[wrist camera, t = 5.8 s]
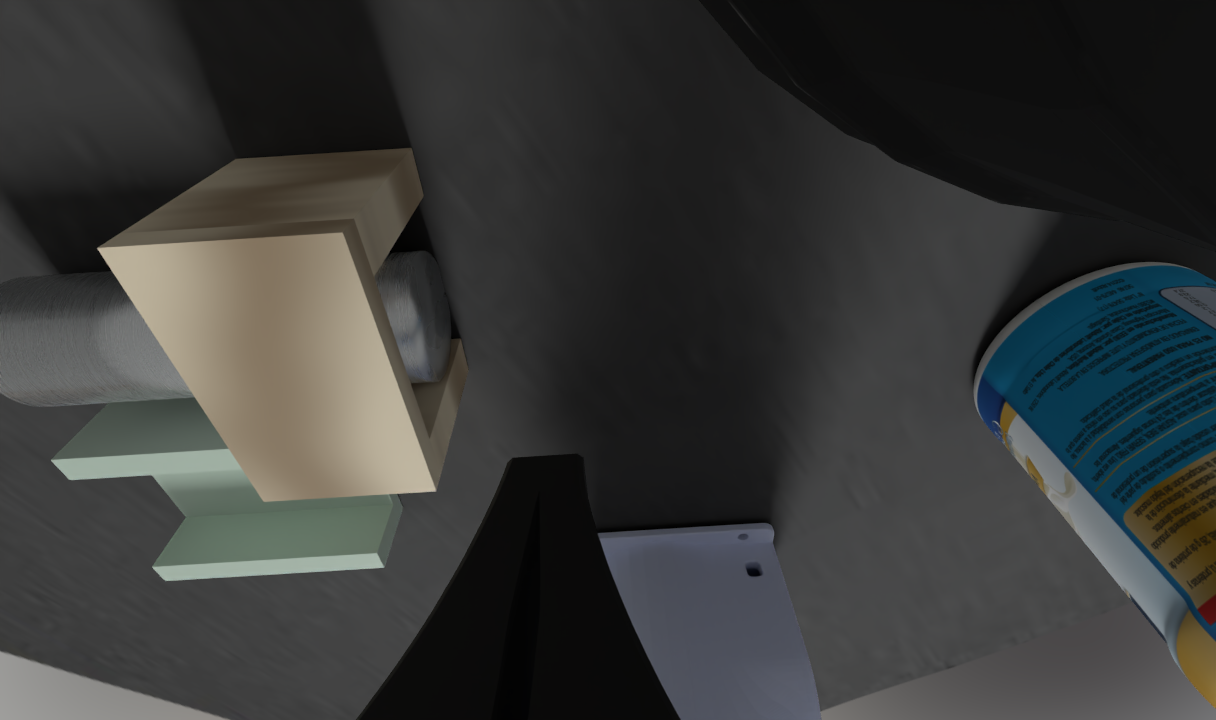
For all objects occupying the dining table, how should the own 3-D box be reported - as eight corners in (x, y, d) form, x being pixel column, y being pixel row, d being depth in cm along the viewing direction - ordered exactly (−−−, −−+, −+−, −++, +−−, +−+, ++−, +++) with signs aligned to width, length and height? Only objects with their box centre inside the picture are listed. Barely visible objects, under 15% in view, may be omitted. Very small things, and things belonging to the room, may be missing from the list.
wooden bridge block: (411, 147, 16) (343, 232, 11) (468, 369, 21) (436, 491, 16) (236, 158, 16) (96, 247, 11) (333, 377, 21) (263, 502, 16)
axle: (420, 222, 17) (399, 328, 14) (456, 308, 20) (442, 405, 18) (20, 248, 17) (-63, 358, 15) (122, 330, 20) (66, 429, 18)
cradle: (350, 385, 21) (320, 443, 19) (403, 507, 25) (384, 567, 23) (111, 400, 21) (50, 460, 19) (204, 520, 25) (165, 581, 23)
